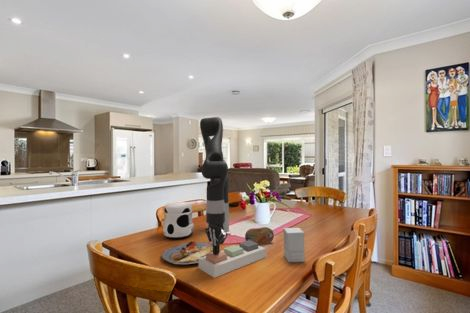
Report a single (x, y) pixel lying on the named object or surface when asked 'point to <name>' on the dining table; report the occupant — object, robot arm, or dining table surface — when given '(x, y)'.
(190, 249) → the food plate
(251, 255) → the key board
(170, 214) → the milk container
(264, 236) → the brown rounded lump
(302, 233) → the supplement box
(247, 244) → the charcoal key
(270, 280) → the dining table surface
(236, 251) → the sage key
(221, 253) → the terracotta key
